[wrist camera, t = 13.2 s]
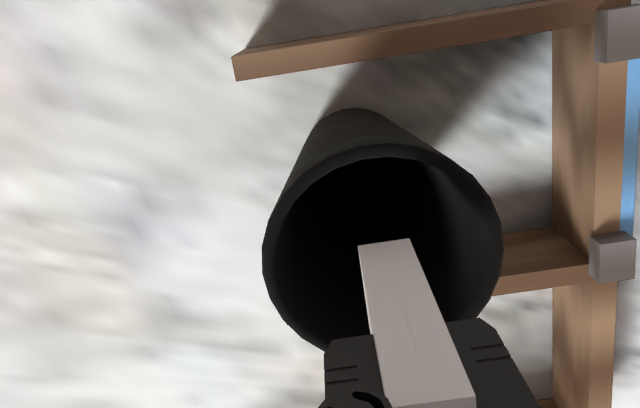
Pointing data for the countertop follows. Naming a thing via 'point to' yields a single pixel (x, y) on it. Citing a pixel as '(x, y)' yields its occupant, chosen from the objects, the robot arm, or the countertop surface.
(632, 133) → the comb rack
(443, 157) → the cup
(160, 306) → the countertop surface
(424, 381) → the robot arm
